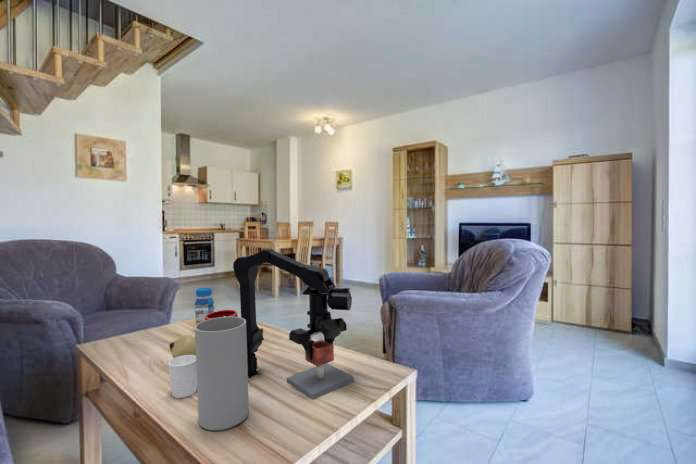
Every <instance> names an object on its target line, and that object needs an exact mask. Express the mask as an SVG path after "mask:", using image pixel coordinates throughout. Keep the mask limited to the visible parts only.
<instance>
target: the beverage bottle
mask: <svg viewBox="0 0 696 464" xmlns="http://www.w3.org/2000/svg"><path fill="white" fill-rule="evenodd" d="M212 291H213V289H212V288H211V287H200V288H197V289H196V290H195V296H196V300H195V302H194V307H195V308H194V313H195V314H194V315H195V318H194V319H195V326H196V325H197V324H198V323H200V322H202V321H205V316H206V315H207V314H209V313H212V312H215V305H214V303H215V302H214V299H213V298H212V295H213V292H212Z"/></svg>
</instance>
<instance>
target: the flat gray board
mask: <svg viewBox="0 0 696 464" xmlns="http://www.w3.org/2000/svg"><path fill="white" fill-rule="evenodd" d="M354 378H355V377H354V375H352V374H350V373H347V372H346V371H344V370H342V369H340V368H338V367H336V366H334V365H332V364H330V363H329V362H328V363H326V364H323V365H320V366H318V367H317V366H315V367H312V368H309V369H306V370H303V371H300V372H299V373H296V374H293V375H290V376H288V377H286V383H287V384H288V385H291V386H292V387H293V388H294V389H296V390H297V391H299V392H301V393H302V394H303V395H305V396H306V397H308V398H309V399H311V400H312V401H313V400H315V399H317V398H319V397H321V396H323V395H326V394H329V393H330V392H332V391H335V390H337V389H340V388H341V387H344V386H346V385H347V384H351V383H352V382H354V381H355V379H354Z"/></svg>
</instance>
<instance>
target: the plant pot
mask: <svg viewBox="0 0 696 464" xmlns="http://www.w3.org/2000/svg"><path fill="white" fill-rule="evenodd" d="M219 317H239V316H238V311H236V310H233V309H222V310H217V311H216V310H215V311H214V312H212V313H209V314H207V315H206V316H205V320H209V319H213V318H219Z"/></svg>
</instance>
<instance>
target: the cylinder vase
mask: <svg viewBox="0 0 696 464" xmlns="http://www.w3.org/2000/svg"><path fill="white" fill-rule="evenodd" d="M194 337H195V347H196V372H197V389H196V392H197V393H196V394H197V397H196V398H197V417H198V419H197V420H198V421H197V422H198V424H199V426H200V427H201V428H203V429H205V430H208V431H224V430H227V429H228V430H229V429H230V428H233V427H235V426H238V425H239V424H240V423H242V422H244V421H245V419H246V418H247V416H248V415H249V413H250V412H249V411H250V404H249V377H248V367H247V336H246V320H245V319H243V318H241V316H240V317H239V316H238V317H226V316H224V317H219V318H213V319H209V320H205V321H202V322H200V323H198V324H197V325H196V324H195V326H194Z"/></svg>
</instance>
